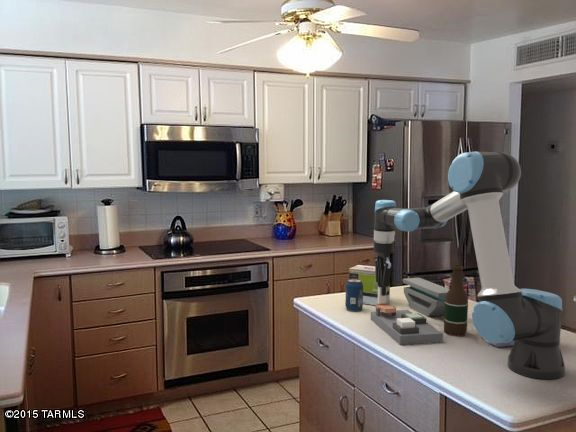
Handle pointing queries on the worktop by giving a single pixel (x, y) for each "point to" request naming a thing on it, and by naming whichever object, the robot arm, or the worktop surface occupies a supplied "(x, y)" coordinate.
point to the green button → (413, 316)
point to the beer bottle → (456, 305)
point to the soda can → (354, 295)
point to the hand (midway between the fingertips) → (381, 302)
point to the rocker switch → (386, 308)
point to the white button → (405, 323)
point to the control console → (406, 335)
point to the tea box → (368, 283)
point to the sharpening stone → (425, 296)
